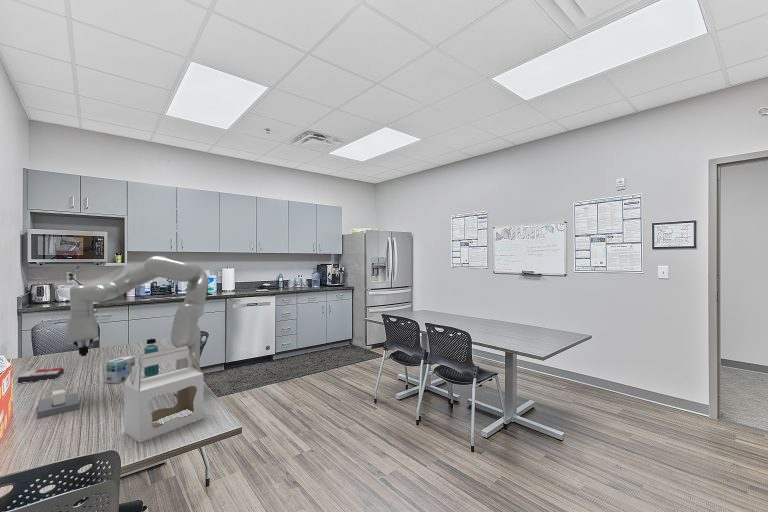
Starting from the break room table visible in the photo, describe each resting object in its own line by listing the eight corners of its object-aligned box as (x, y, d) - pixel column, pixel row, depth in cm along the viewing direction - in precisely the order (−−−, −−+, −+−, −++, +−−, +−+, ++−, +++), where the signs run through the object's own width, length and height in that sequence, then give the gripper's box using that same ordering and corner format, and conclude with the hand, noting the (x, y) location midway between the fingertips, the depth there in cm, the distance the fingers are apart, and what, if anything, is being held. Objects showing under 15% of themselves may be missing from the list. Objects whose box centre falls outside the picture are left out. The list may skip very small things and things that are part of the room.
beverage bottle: (147, 380, 178) (147, 341, 178) (141, 378, 181) (141, 339, 181) (161, 376, 183) (161, 338, 183) (155, 374, 187) (154, 337, 187)
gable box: (138, 443, 117) (138, 360, 117) (123, 432, 124) (122, 354, 124) (204, 418, 135) (204, 346, 135) (187, 410, 142) (187, 341, 143)
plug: (65, 410, 143) (65, 392, 143) (53, 413, 140) (53, 394, 141) (64, 406, 146) (64, 389, 146) (52, 409, 144) (52, 391, 144)
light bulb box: (116, 384, 173) (116, 362, 173) (105, 383, 174) (105, 361, 174) (135, 376, 183) (135, 356, 183) (125, 376, 185) (125, 355, 185)
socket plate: (78, 409, 144) (78, 401, 144) (38, 418, 136) (38, 410, 136) (76, 398, 156) (76, 390, 156) (38, 406, 147) (38, 398, 147)
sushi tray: (57, 372, 181) (17, 376, 174) (56, 381, 181) (17, 384, 174) (64, 366, 191) (26, 370, 183) (63, 374, 191) (26, 378, 183)
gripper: (102, 310, 160) (104, 350, 160) (58, 315, 149) (59, 358, 149) (105, 312, 154) (106, 353, 154) (59, 317, 144) (61, 361, 144)
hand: (83, 355), depth 152 cm, fingers closed
